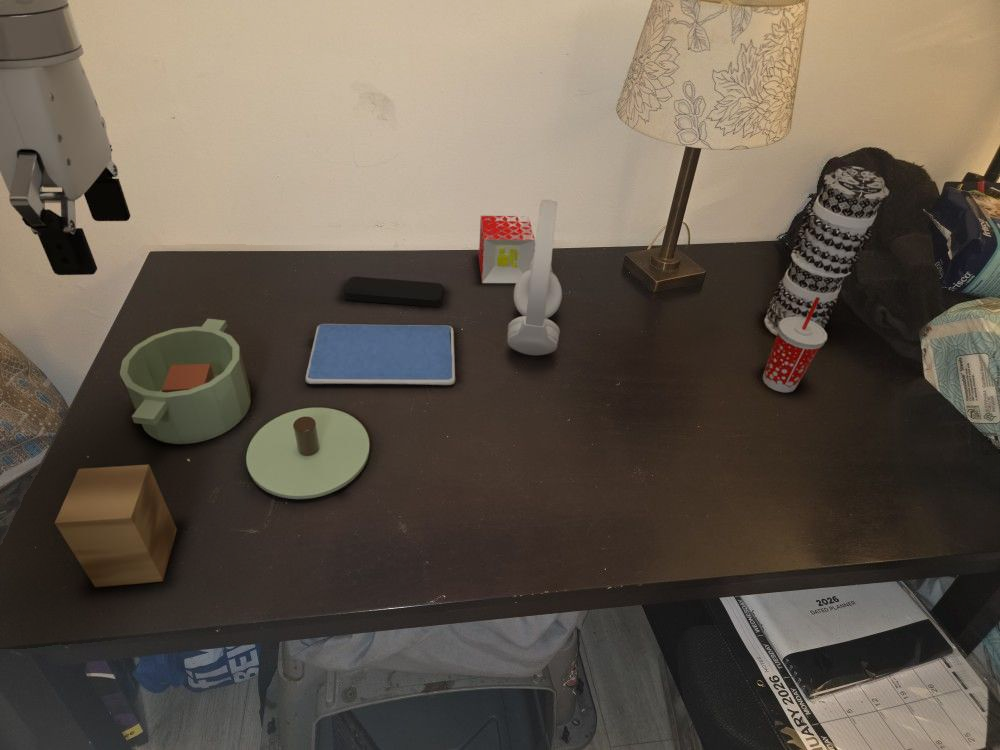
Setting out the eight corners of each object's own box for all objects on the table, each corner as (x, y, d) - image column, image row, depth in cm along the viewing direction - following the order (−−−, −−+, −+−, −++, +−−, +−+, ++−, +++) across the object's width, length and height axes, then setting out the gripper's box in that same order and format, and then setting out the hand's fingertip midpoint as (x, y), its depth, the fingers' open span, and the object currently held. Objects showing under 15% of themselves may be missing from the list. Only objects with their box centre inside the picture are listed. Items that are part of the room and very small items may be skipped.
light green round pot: (274, 366, 86) (264, 320, 81) (214, 468, 72) (198, 420, 67) (181, 355, 86) (166, 308, 82) (105, 454, 73) (81, 405, 68)
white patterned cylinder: (762, 304, 105) (822, 154, 89) (821, 318, 103) (894, 167, 87) (760, 335, 99) (825, 179, 82) (823, 351, 97) (902, 194, 81)
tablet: (453, 330, 95) (453, 323, 94) (455, 388, 85) (455, 380, 84) (318, 329, 93) (317, 322, 92) (304, 388, 83) (303, 380, 82)
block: (211, 416, 78) (202, 388, 75) (171, 417, 77) (161, 390, 74) (218, 391, 81) (210, 363, 78) (180, 392, 80) (170, 364, 77)
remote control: (444, 292, 103) (349, 282, 102) (444, 283, 102) (349, 272, 101) (441, 310, 99) (342, 299, 98) (441, 301, 98) (341, 290, 97)
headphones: (559, 303, 102) (577, 182, 89) (554, 378, 88) (575, 248, 75) (514, 297, 102) (525, 176, 89) (502, 372, 88) (513, 241, 75)
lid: (382, 421, 80) (380, 390, 76) (351, 510, 69) (347, 478, 66) (274, 408, 80) (267, 376, 77) (227, 494, 70) (217, 462, 66)
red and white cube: (481, 283, 105) (484, 239, 100) (478, 257, 111) (480, 215, 105) (530, 283, 106) (535, 240, 100) (524, 258, 112) (529, 216, 106)
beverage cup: (798, 371, 93) (838, 289, 83) (804, 399, 88) (847, 316, 79) (754, 364, 93) (789, 281, 84) (758, 391, 89) (796, 307, 80)
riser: (163, 581, 62) (131, 517, 55) (94, 587, 61) (54, 523, 54) (177, 529, 66) (149, 464, 60) (113, 534, 65) (78, 468, 59)
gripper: (11, 6, 53) (83, 202, 64) (-108, 64, 40) (8, 299, 51) (110, 10, 54) (164, 202, 65) (26, 68, 41) (111, 296, 52)
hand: (95, 244), depth 58 cm, fingers open, 9 cm apart
